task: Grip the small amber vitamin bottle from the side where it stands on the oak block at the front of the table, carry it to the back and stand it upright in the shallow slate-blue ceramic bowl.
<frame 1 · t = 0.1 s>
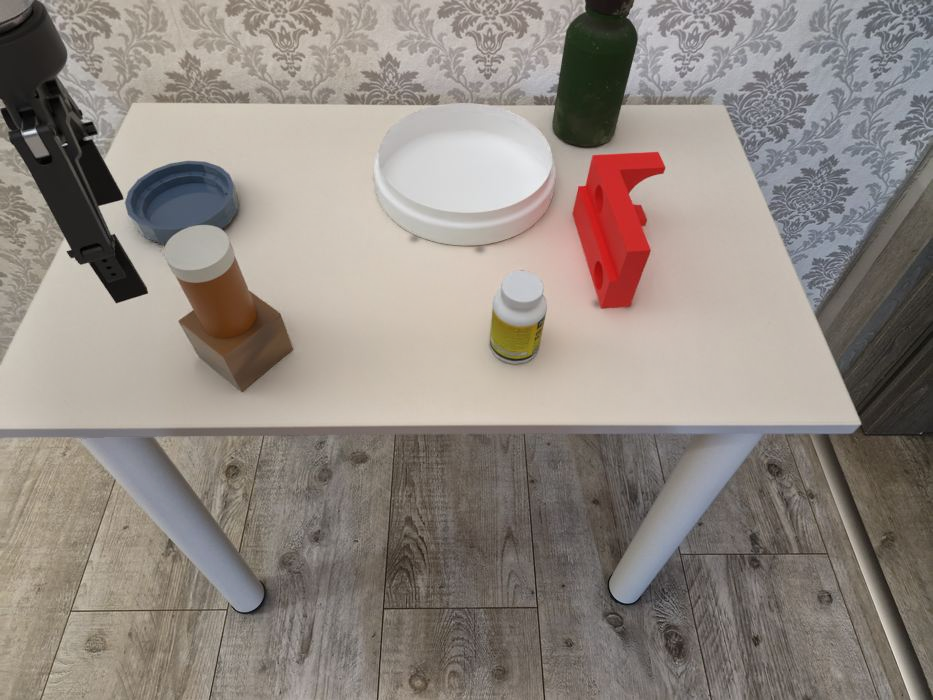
hand: (119, 245, 58), 20 cm above the table, tool pointing down, fingers open, 13 cm apart
vitamin bottle: (229, 317, 69), point 7 cm above the table, touching riser
pill bottle: (513, 346, 76), on the table
round white tray: (464, 184, 94), on the table
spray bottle: (582, 130, 103), on the table
riser: (246, 353, 75), on the table
bowl: (188, 212, 89), on the table
bracket: (621, 257, 86), on the table
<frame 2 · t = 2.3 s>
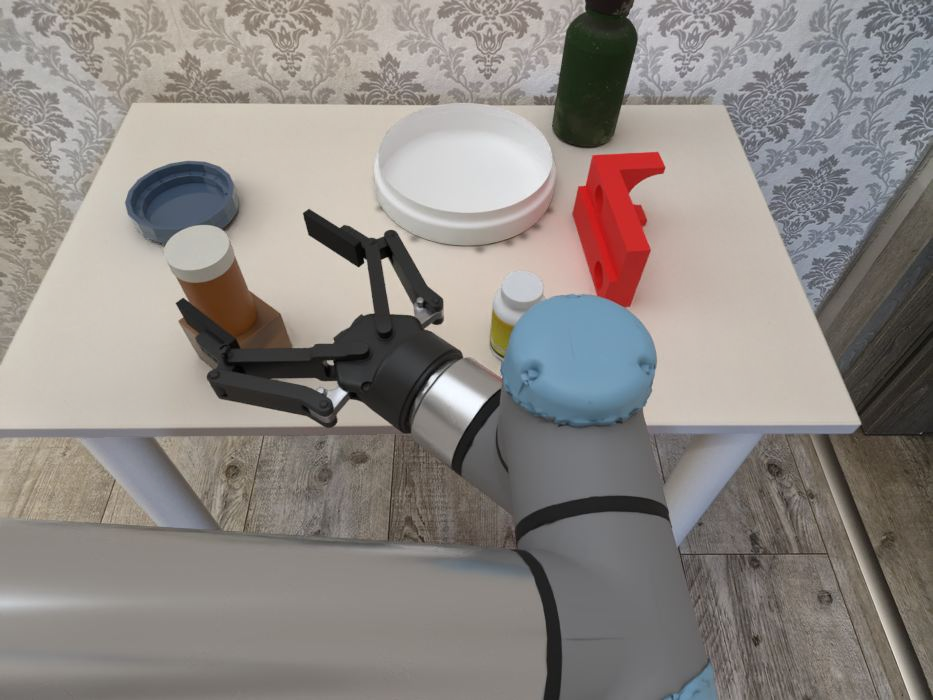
hand: (250, 263, 53), 22 cm above the table, tool horizontal, fingers open, 13 cm apart
nothing on the table moved.
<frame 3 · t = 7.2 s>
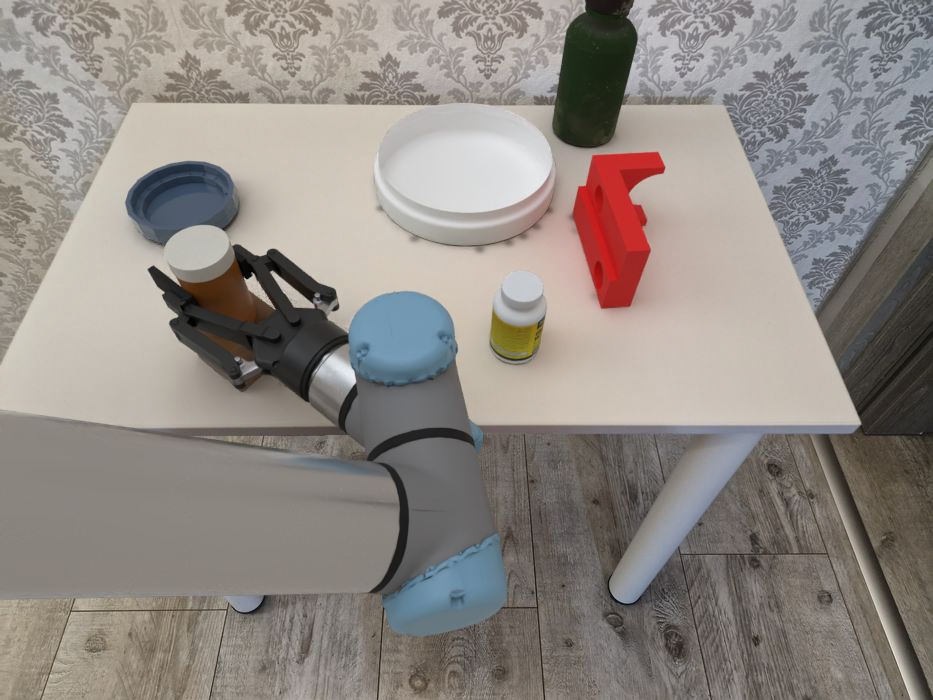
hand: (182, 258, 66), 13 cm above the table, tool horizontal, fingers closed on vitamin bottle, 6 cm apart
vitamin bottle: (229, 317, 69), point 7 cm above the table, touching gripper, riser
everything else where it was.
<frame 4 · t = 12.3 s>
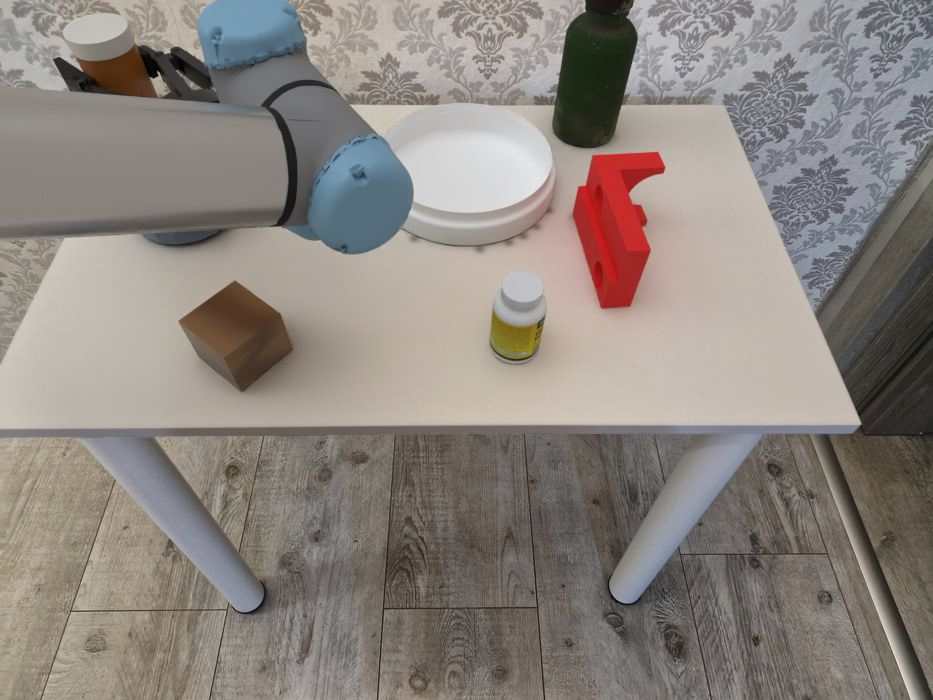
hand: (90, 57, 68), 24 cm above the table, tool horizontal, fingers closed on vitamin bottle, 6 cm apart
vitamin bottle: (140, 123, 71), point 18 cm above the table, touching gripper
everything else where it was.
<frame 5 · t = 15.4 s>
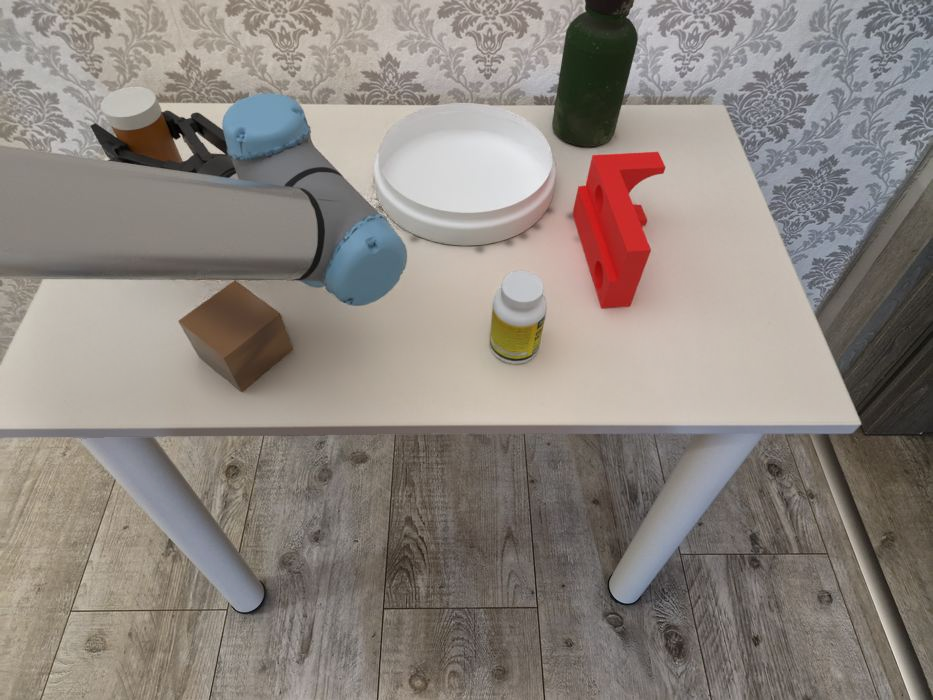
hand: (121, 121, 79), 13 cm above the table, tool horizontal, fingers closed on vitamin bottle, 6 cm apart
vitamin bottle: (163, 176, 82), point 7 cm above the table, touching gripper
everything else where it was.
when the fingers open (7 cm above the table, at t = 17.6 s): vitamin bottle stays where it is, resting on bowl.
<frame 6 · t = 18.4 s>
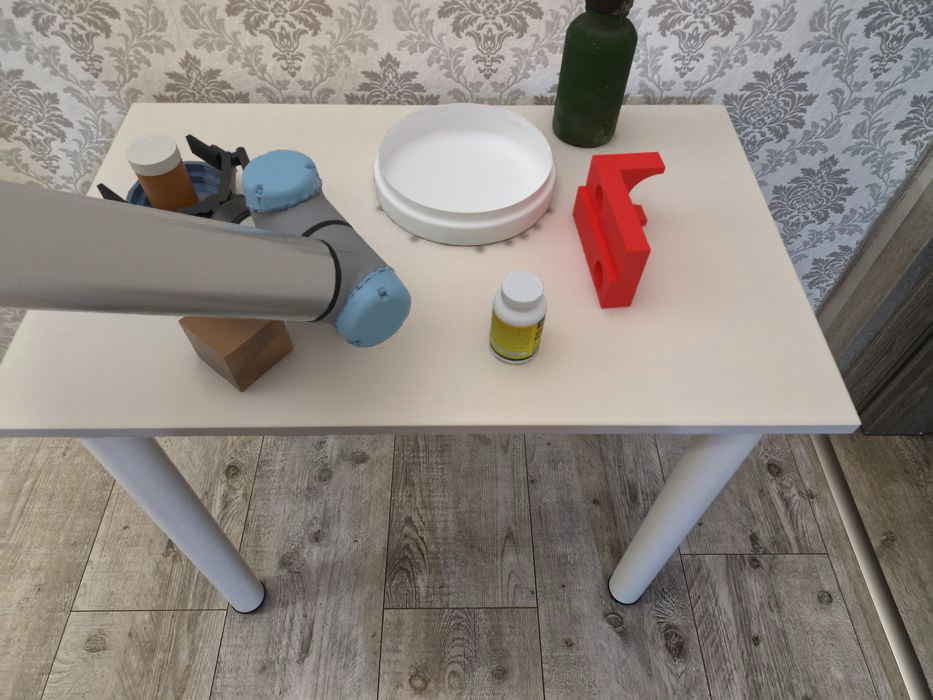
hand: (148, 166, 83), 7 cm above the table, tool horizontal, fingers open, 13 cm apart
vitamin bottle: (181, 214, 87), point 1 cm above the table, touching bowl
everything else where it was.
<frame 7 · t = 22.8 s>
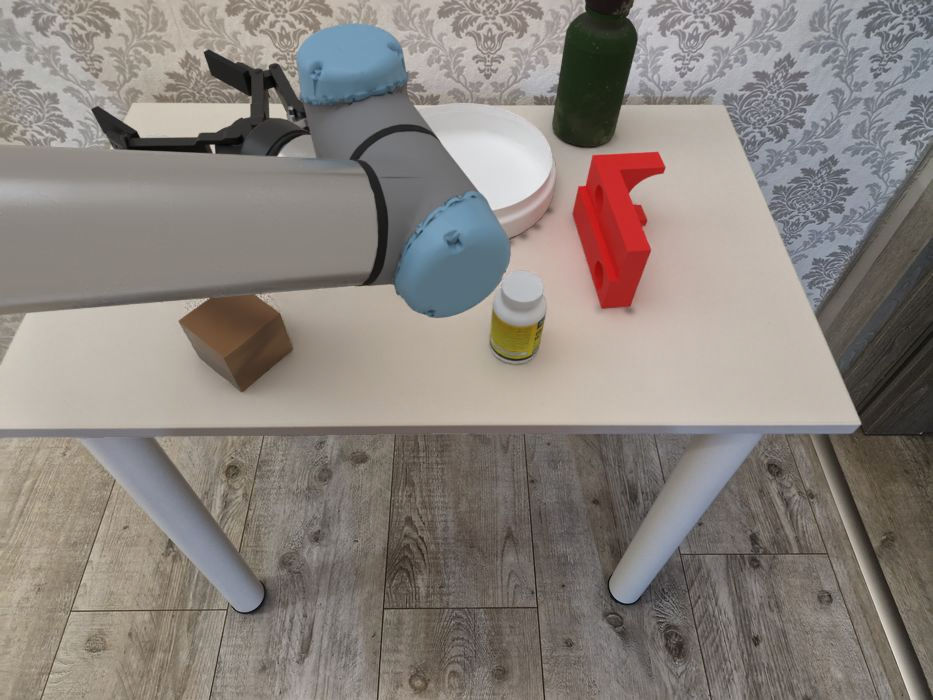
hand: (157, 89, 65), 24 cm above the table, tool horizontal, fingers open, 13 cm apart
nothing on the table moved.
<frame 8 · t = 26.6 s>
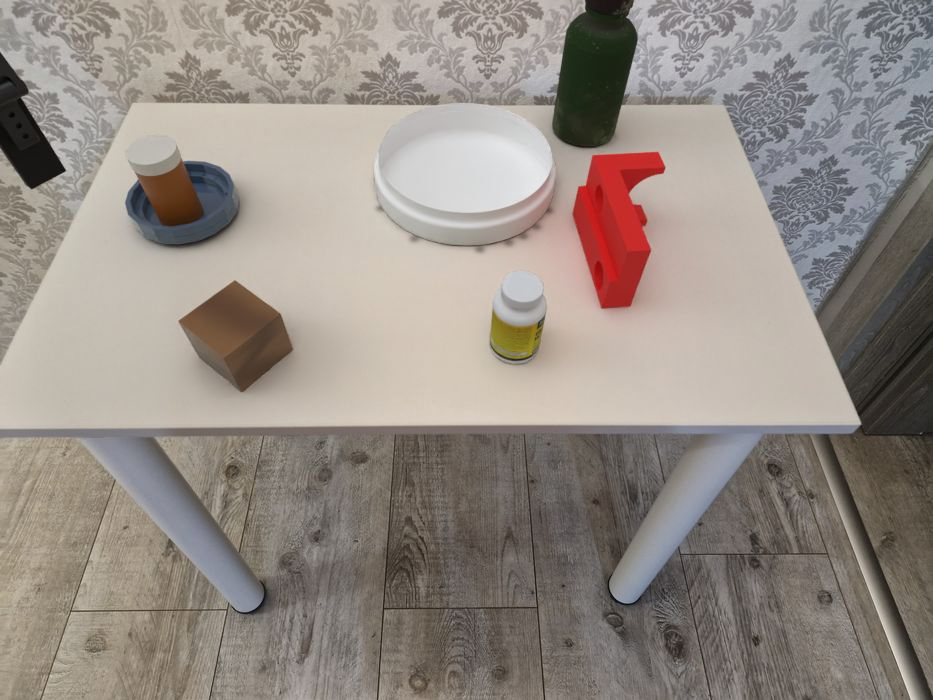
nothing on the table moved.
at the end: vitamin bottle inside the target area in the bowl (1.4 cm from its centre), point 0.8 cm above the bowl's base; vitamin bottle tilted 0°; the gripper is holding nothing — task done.
